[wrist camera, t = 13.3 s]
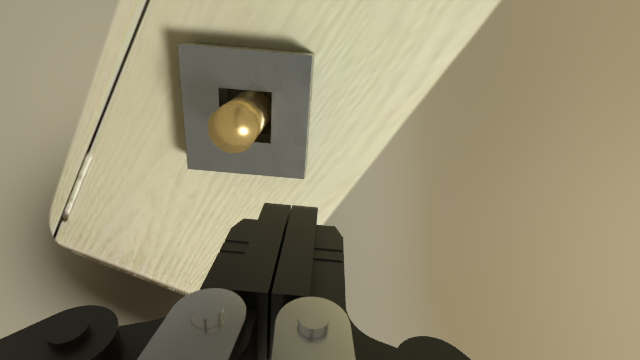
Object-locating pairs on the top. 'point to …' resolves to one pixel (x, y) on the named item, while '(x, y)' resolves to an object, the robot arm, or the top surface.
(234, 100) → the brass cylinder
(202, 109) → the frame
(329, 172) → the top surface
